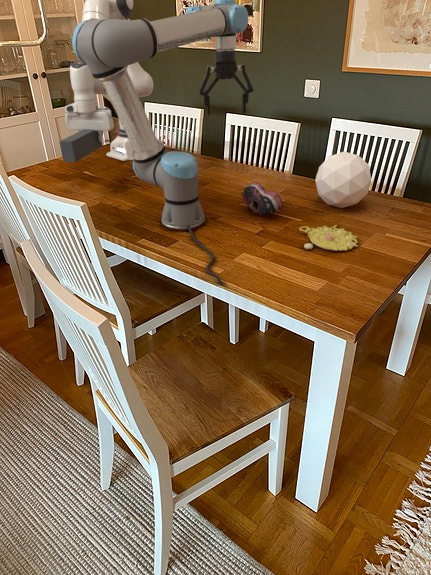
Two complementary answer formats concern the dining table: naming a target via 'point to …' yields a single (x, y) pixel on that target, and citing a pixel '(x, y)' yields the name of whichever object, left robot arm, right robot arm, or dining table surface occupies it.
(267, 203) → the athletic shoe
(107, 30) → the right robot arm
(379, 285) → the dining table surface
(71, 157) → the bar
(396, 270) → the dining table surface
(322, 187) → the sphere
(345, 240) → the decorative object
